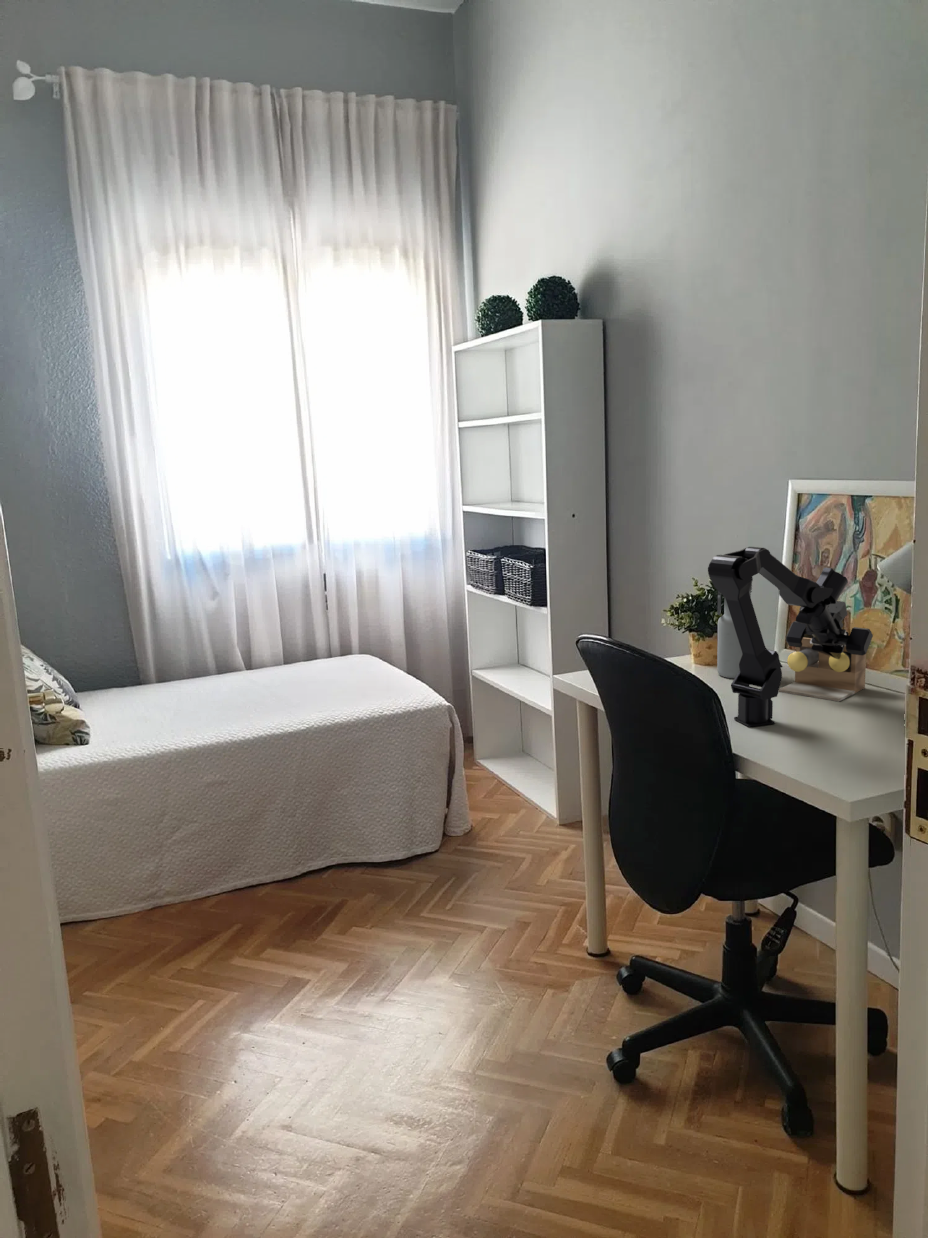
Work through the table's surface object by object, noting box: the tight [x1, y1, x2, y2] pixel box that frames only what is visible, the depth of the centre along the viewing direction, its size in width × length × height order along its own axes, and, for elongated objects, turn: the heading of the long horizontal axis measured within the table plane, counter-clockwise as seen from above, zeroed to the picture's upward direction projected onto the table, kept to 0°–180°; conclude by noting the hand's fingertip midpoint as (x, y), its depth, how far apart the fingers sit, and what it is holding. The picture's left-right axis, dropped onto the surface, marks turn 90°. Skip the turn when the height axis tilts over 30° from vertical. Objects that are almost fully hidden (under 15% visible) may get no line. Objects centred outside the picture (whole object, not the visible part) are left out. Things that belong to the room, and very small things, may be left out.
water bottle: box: [716, 582, 753, 680], centre depth 248 cm, size 10×10×28 cm
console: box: [778, 637, 867, 702], centre depth 232 cm, size 14×15×14 cm
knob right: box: [829, 651, 851, 672], centre depth 231 cm, size 8×5×5 cm, turn 135°
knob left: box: [787, 647, 819, 672], centre depth 233 cm, size 8×5×5 cm, turn 135°
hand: (838, 657), depth 228 cm, fingers closed, pressing on knob right
